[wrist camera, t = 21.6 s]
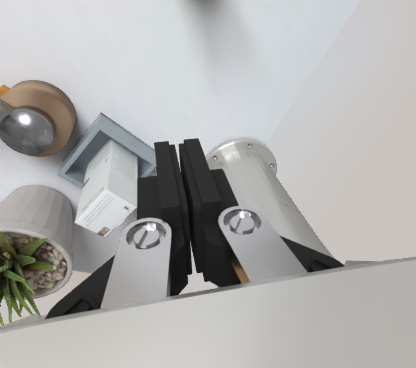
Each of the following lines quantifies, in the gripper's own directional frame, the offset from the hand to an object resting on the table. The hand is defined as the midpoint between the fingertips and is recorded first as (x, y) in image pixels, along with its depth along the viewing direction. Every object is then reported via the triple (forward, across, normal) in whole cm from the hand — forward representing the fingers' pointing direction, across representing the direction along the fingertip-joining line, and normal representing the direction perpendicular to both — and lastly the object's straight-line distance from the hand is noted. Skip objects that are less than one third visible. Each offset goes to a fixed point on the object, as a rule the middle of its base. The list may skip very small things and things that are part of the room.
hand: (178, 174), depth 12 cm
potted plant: (+29, +19, +21) cm, 41 cm away
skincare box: (+29, +7, +15) cm, 33 cm away
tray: (+29, +7, +14) cm, 33 cm away
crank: (+25, +17, +5) cm, 30 cm away
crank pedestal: (+29, +14, +7) cm, 33 cm away
